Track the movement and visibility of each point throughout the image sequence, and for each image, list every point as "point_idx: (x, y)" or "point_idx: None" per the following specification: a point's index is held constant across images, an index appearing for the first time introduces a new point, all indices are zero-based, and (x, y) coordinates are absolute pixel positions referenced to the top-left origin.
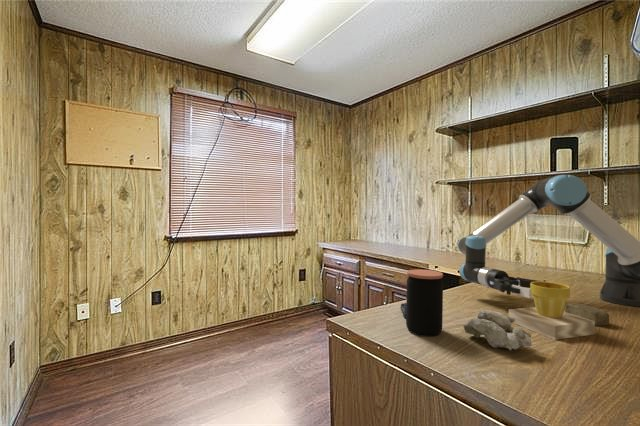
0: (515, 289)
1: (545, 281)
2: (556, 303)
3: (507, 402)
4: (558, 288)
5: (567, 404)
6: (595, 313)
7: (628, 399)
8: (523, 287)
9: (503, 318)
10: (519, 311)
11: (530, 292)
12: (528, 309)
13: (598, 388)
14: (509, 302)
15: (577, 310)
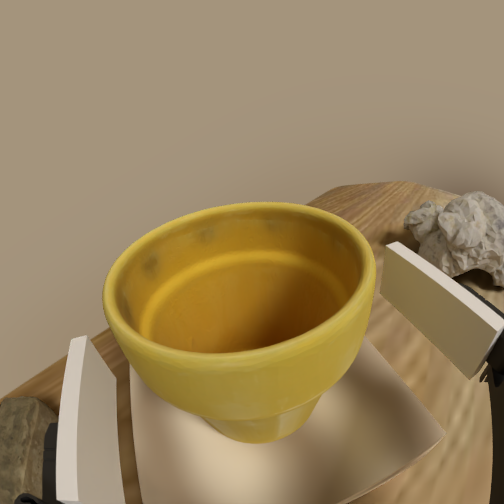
0: (470, 292)
1: (29, 496)
2: (261, 285)
3: (429, 187)
4: (129, 323)
5: (382, 190)
6: (40, 401)
7: (318, 199)
8: (428, 273)
9: (457, 198)
10: (399, 416)
11: (388, 261)
12: (327, 473)
13: (339, 205)
14: None
15: (36, 473)
